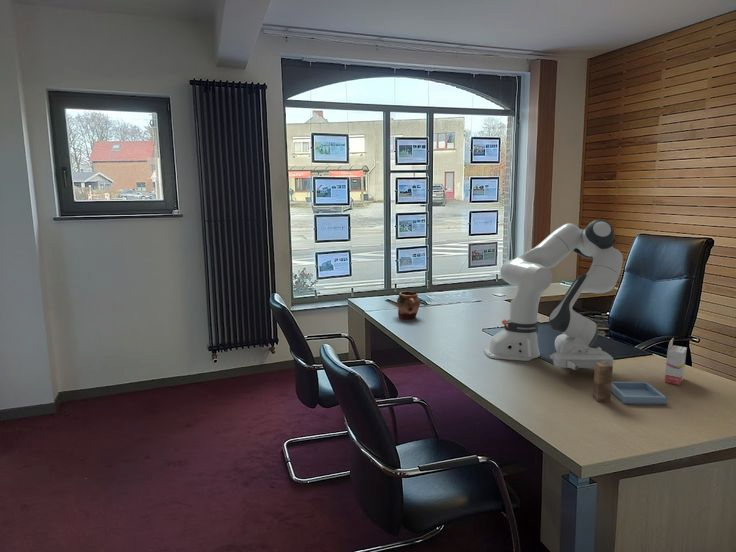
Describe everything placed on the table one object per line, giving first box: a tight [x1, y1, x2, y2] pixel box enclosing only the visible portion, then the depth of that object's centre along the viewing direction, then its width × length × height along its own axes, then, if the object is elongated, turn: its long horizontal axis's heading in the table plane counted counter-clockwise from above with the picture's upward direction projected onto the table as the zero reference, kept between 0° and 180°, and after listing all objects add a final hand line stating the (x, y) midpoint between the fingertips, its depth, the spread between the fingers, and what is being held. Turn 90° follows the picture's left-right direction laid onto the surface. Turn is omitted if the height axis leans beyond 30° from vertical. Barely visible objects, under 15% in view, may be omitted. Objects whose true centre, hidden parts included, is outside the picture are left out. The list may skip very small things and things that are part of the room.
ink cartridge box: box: [664, 337, 688, 386], centre depth 176 cm, size 9×5×15 cm, turn 141°
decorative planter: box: [396, 290, 421, 320], centre depth 269 cm, size 20×12×14 cm, turn 18°
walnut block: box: [592, 362, 614, 403], centre depth 161 cm, size 4×4×12 cm
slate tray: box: [611, 381, 668, 406], centre depth 164 cm, size 13×13×2 cm
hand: (589, 367), depth 173 cm, fingers open, 8 cm apart
